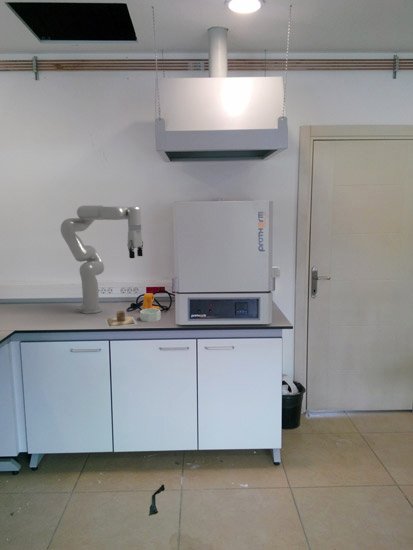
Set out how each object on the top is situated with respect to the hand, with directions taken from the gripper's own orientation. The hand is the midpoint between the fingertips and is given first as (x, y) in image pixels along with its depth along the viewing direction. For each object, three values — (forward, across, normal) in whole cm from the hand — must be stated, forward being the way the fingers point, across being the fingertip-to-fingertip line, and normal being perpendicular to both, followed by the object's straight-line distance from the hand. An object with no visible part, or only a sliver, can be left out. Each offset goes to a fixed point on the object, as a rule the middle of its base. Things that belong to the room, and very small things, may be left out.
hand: (136, 257), depth 227 cm
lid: (+35, +17, -2) cm, 39 cm away
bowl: (+36, +6, +11) cm, 38 cm away
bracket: (+36, -8, +4) cm, 37 cm away
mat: (+36, +17, -2) cm, 40 cm away
